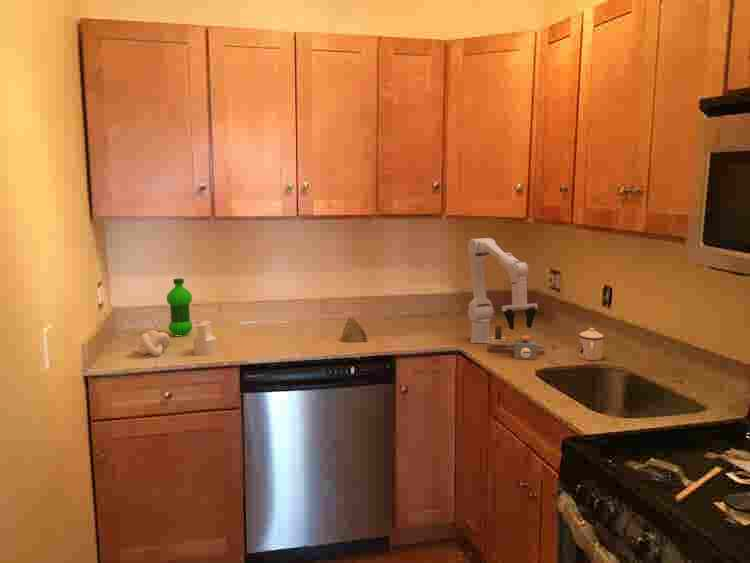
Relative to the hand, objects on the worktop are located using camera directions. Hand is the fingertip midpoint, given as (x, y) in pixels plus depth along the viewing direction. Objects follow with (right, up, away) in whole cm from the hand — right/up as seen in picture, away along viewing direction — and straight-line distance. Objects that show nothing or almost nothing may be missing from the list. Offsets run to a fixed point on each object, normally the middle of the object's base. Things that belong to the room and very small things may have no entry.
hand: (520, 328), depth 245 cm
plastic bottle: (-143, -6, +34) cm, 147 cm away
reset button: (+2, -5, -1) cm, 6 cm away
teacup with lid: (+27, -12, -2) cm, 29 cm away
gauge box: (+2, -11, 0) cm, 11 cm away
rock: (-65, -8, +24) cm, 70 cm away
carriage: (-7, -8, +10) cm, 15 cm away
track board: (0, -10, +9) cm, 13 cm away
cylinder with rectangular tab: (-124, -10, +5) cm, 125 cm away
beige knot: (-145, -11, +3) cm, 145 cm away
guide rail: (0, -8, +9) cm, 12 cm away
